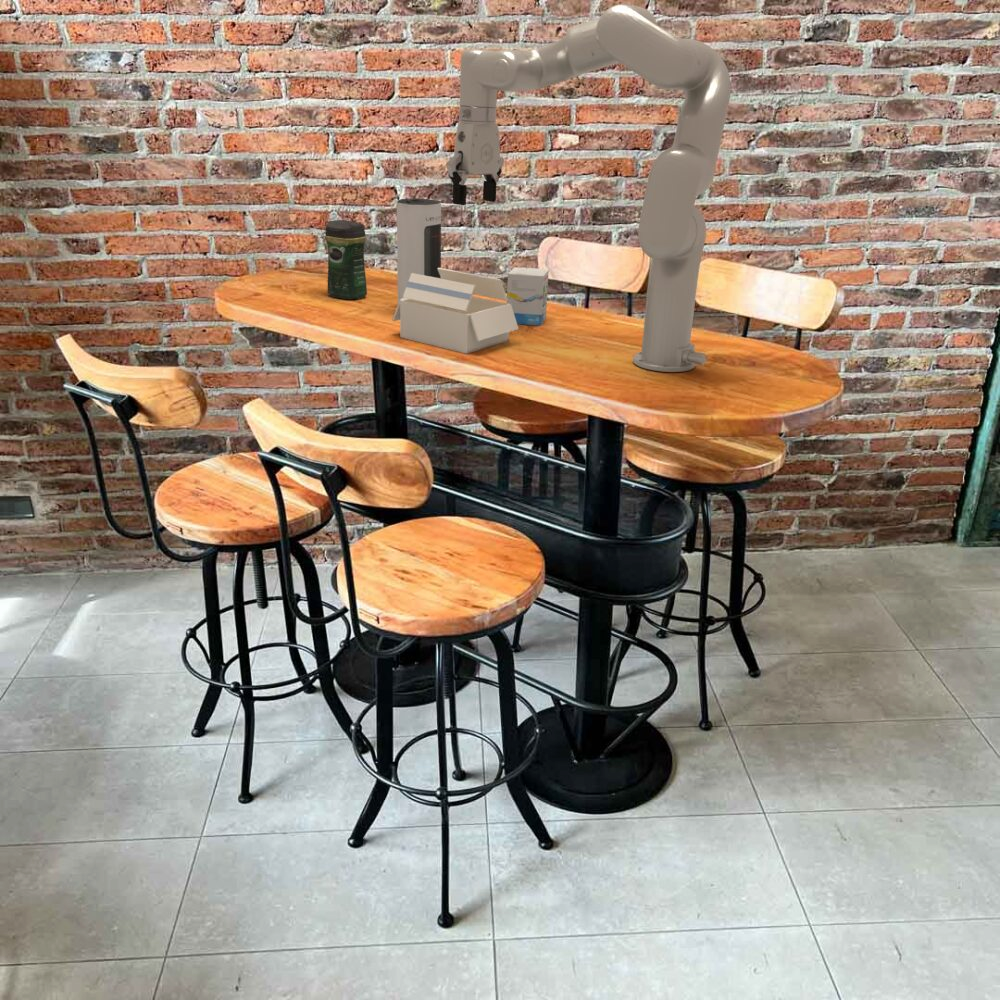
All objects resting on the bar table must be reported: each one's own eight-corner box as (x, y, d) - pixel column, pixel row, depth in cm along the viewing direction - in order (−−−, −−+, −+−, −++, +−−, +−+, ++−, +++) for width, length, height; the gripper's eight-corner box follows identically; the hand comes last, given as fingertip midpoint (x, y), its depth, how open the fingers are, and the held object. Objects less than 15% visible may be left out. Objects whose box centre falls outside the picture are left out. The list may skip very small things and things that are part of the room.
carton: (519, 343, 210) (520, 305, 207) (477, 356, 199) (478, 316, 196) (434, 323, 223) (434, 287, 220) (390, 335, 213) (390, 297, 209)
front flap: (466, 311, 198) (475, 286, 198) (465, 310, 198) (474, 285, 198) (403, 297, 208) (412, 273, 208) (402, 297, 207) (411, 272, 207)
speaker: (413, 319, 226) (413, 203, 215) (387, 310, 233) (386, 197, 223) (449, 313, 233) (451, 200, 222) (423, 305, 240) (423, 195, 229)
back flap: (507, 299, 208) (500, 279, 204) (506, 301, 208) (499, 280, 204) (446, 287, 218) (438, 267, 214) (445, 288, 218) (437, 268, 214)
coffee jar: (372, 296, 246) (371, 221, 239) (351, 301, 240) (349, 224, 233) (343, 291, 251) (341, 216, 244) (322, 295, 245) (319, 219, 238)
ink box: (541, 326, 225) (543, 275, 220) (504, 323, 226) (506, 272, 221) (546, 318, 232) (549, 268, 228) (511, 315, 234) (513, 266, 229)
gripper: (463, 117, 191) (460, 208, 198) (518, 116, 203) (513, 201, 210) (435, 115, 195) (433, 203, 202) (490, 114, 208) (487, 197, 215)
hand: (474, 202), depth 206 cm, fingers open, 9 cm apart
